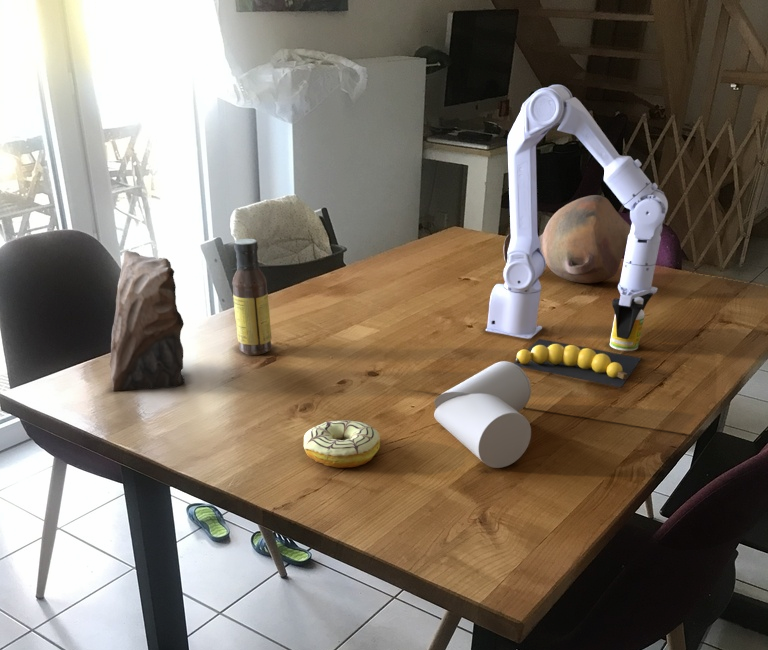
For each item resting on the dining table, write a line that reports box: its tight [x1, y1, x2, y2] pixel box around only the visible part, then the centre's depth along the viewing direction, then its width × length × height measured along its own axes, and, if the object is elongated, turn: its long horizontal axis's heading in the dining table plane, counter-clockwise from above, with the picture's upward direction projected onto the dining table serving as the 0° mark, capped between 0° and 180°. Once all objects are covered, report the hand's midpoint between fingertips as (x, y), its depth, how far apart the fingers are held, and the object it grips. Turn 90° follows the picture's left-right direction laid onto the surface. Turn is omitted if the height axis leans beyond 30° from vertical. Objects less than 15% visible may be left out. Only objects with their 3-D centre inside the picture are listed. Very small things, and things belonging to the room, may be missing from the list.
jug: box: [502, 194, 631, 284], centre depth 192 cm, size 20×20×30 cm
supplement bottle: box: [609, 297, 645, 352], centre depth 154 cm, size 5×5×10 cm
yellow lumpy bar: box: [514, 344, 627, 379], centre depth 144 cm, size 20×6×4 cm, turn 70°
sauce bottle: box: [232, 238, 272, 356], centre depth 145 cm, size 6×6×20 cm
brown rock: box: [109, 250, 186, 392], centre depth 133 cm, size 13×13×20 cm
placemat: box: [513, 338, 642, 388], centre depth 149 cm, size 20×16×1 cm
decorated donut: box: [303, 419, 381, 469], centre depth 115 cm, size 10×11×4 cm
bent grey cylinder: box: [433, 360, 532, 469], centre depth 120 cm, size 18×10×20 cm
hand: (626, 333), depth 155 cm, fingers closed on supplement bottle, 5 cm apart
